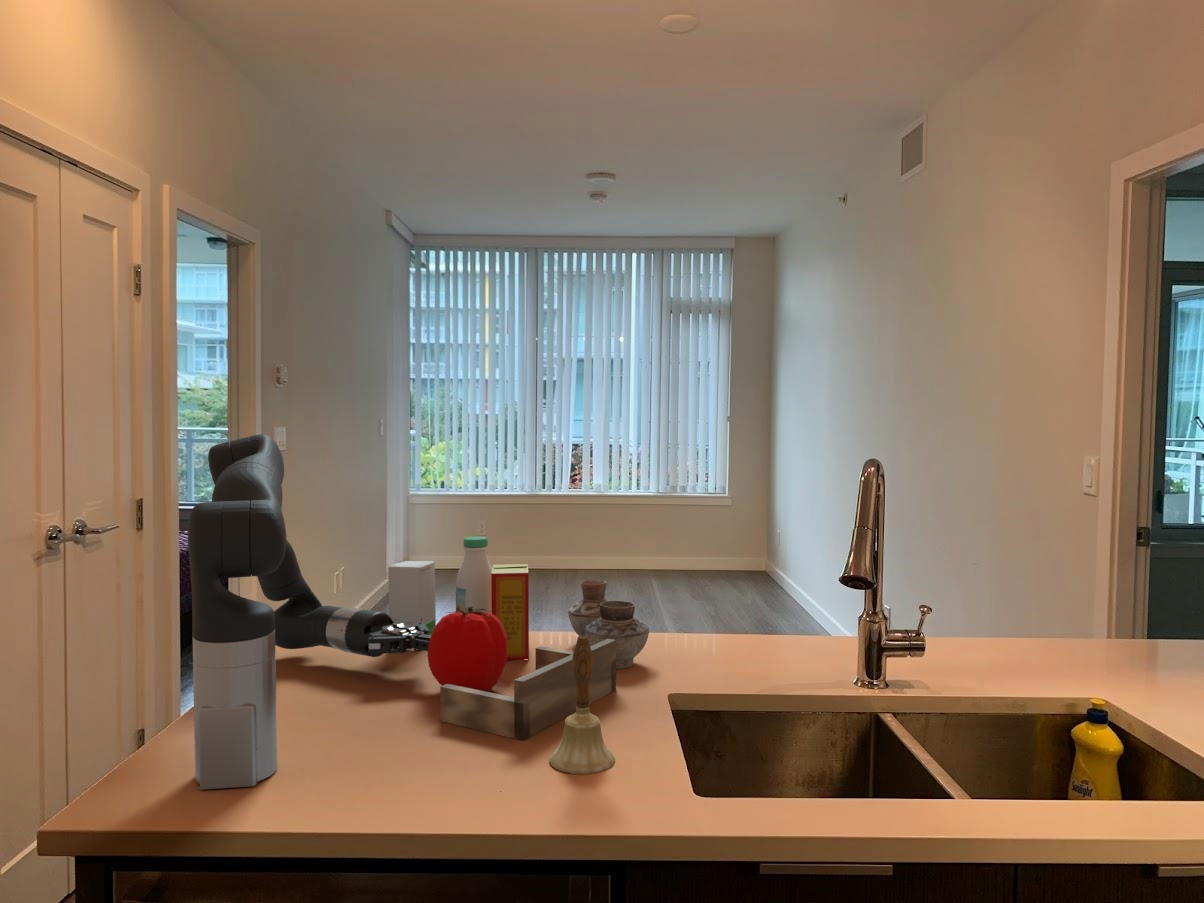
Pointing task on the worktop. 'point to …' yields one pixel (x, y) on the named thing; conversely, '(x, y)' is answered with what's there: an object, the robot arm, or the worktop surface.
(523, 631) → the baking soda box
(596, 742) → the hand bell
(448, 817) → the worktop surface
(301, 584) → the robot arm
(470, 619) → the tomato
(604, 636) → the pottery
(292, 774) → the worktop surface
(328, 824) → the worktop surface
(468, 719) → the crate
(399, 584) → the skincare box
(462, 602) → the milk bottle
